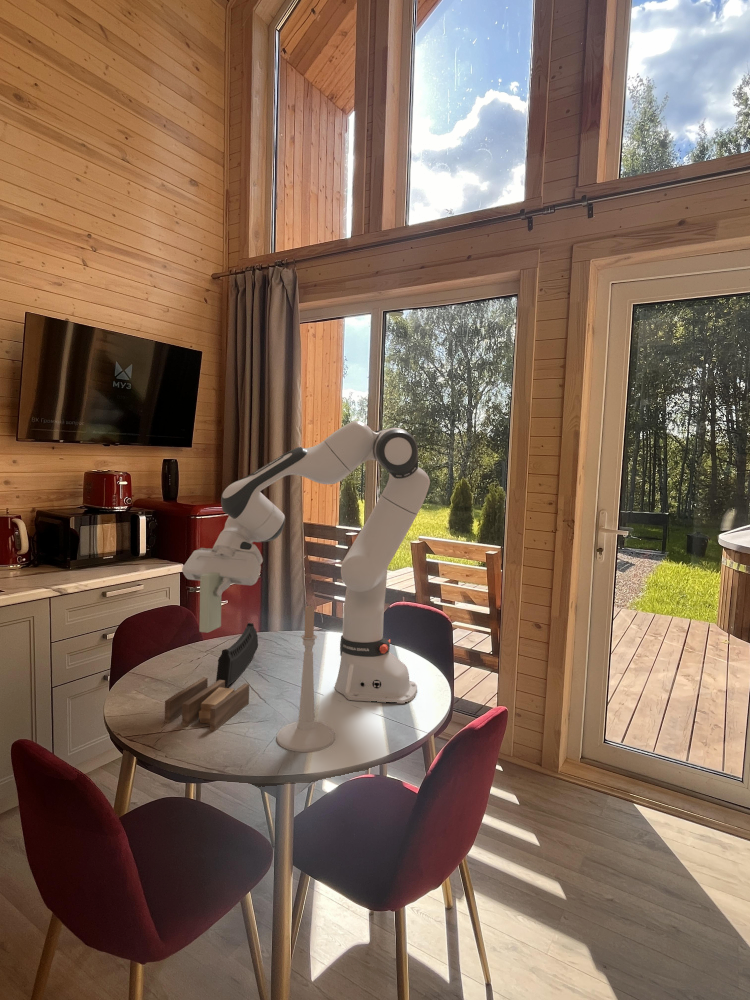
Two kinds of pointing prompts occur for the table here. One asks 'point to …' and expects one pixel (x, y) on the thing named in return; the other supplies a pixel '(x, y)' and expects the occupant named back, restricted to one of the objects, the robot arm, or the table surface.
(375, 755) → the table surface
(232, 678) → the magazine
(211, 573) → the tall panel
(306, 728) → the candlestick
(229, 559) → the robot arm
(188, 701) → the walnut rack
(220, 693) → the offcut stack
